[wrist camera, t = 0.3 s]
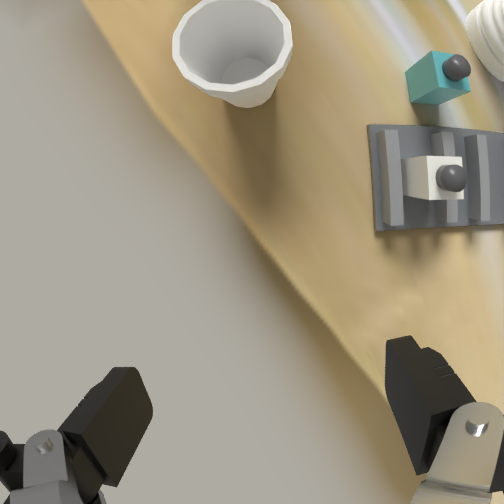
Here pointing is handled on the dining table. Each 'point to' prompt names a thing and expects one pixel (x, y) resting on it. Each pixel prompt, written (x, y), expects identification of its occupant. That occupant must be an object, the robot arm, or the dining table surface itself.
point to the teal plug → (438, 78)
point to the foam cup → (234, 49)
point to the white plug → (433, 177)
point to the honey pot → (488, 35)
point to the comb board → (436, 144)
